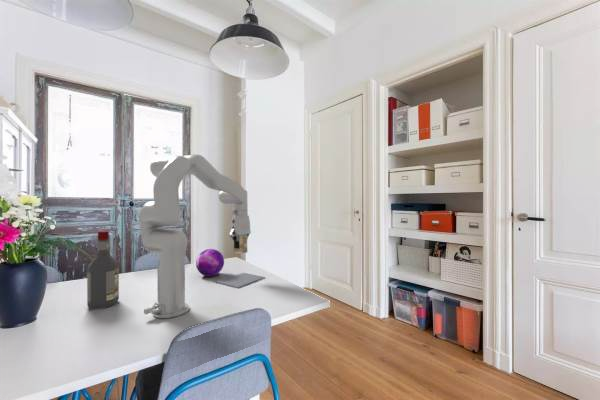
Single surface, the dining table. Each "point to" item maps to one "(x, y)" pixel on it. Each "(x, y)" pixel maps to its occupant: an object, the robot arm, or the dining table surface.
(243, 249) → the maple block
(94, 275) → the liquor
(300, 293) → the dining table surface
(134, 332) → the dining table surface
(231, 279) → the slate mat
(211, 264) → the decorative orb
